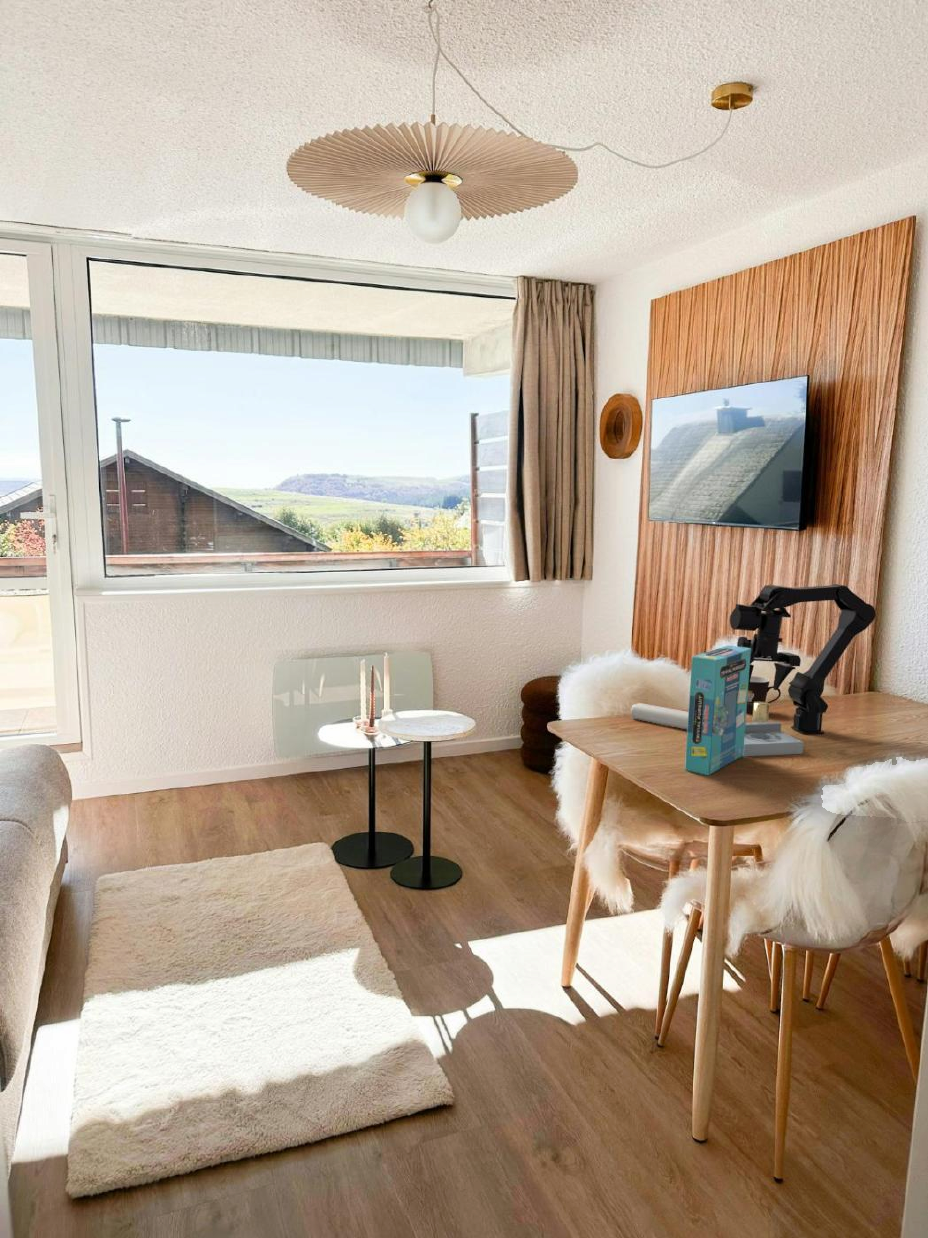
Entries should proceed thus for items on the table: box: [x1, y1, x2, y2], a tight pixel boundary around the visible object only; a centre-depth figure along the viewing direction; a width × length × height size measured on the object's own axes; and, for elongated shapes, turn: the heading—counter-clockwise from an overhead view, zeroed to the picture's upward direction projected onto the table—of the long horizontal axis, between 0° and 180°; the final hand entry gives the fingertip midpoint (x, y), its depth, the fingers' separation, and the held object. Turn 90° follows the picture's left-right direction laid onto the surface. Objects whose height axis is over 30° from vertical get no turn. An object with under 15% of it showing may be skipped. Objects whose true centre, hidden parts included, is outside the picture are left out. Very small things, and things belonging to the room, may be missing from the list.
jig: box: [742, 721, 804, 757], centre depth 220 cm, size 16×12×5 cm
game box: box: [684, 645, 751, 776], centre depth 205 cm, size 20×6×27 cm, turn 141°
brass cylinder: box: [751, 701, 770, 723], centre depth 235 cm, size 4×4×8 cm
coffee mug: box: [746, 675, 782, 716], centre depth 256 cm, size 12×9×10 cm
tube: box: [629, 702, 689, 731], centre depth 240 cm, size 5×5×25 cm
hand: (760, 689), depth 234 cm, fingers open, 9 cm apart
